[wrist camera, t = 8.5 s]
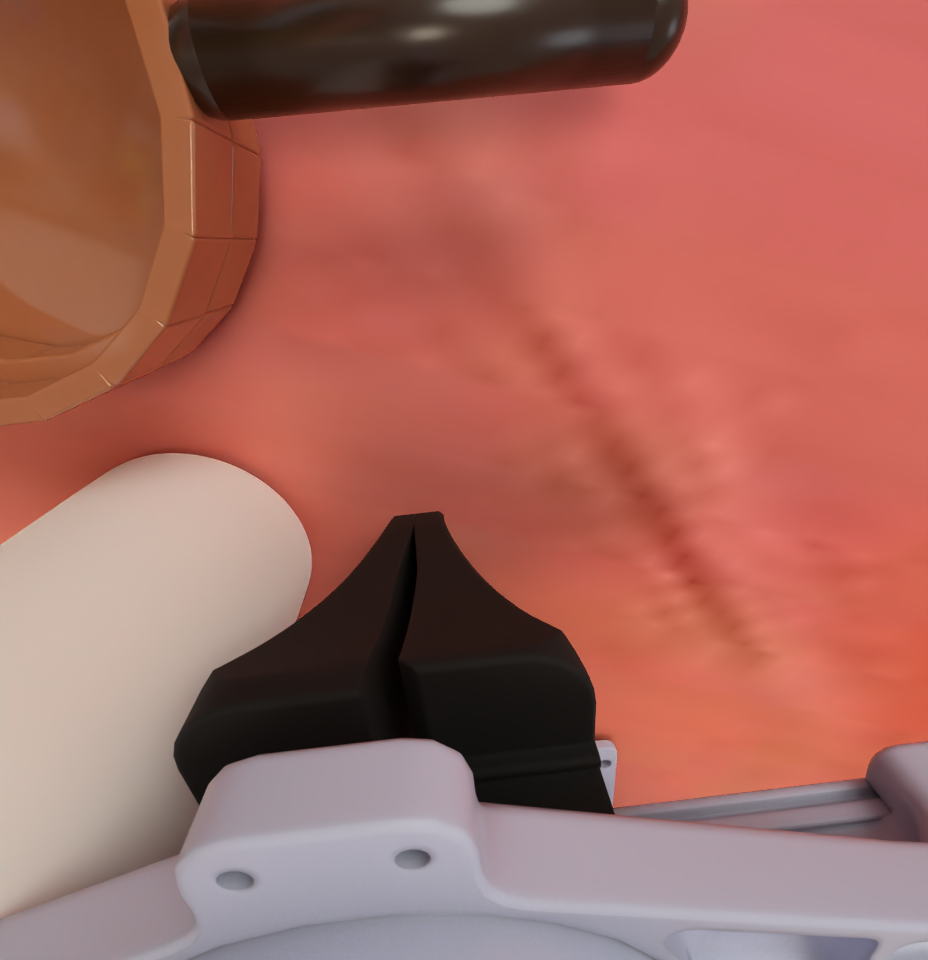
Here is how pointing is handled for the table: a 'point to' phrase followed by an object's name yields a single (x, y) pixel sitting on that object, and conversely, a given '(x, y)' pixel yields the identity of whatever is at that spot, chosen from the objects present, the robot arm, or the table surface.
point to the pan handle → (410, 50)
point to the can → (126, 658)
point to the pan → (109, 204)
